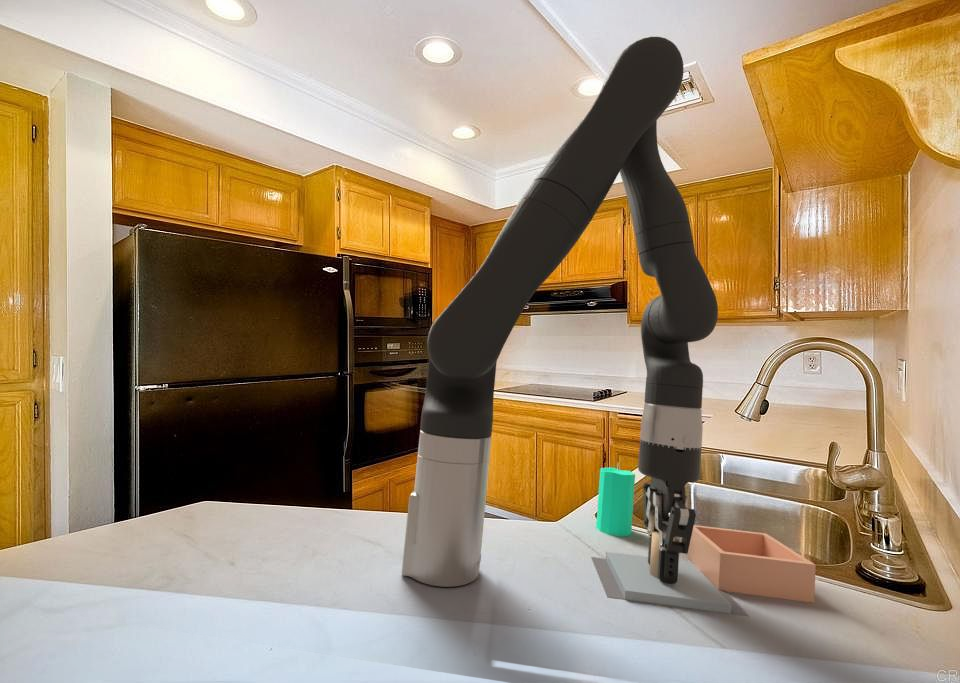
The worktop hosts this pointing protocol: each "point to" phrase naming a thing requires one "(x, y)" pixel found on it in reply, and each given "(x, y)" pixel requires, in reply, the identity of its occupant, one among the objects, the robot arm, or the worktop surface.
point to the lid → (646, 587)
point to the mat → (615, 592)
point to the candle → (615, 501)
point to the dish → (751, 564)
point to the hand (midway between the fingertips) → (661, 573)
